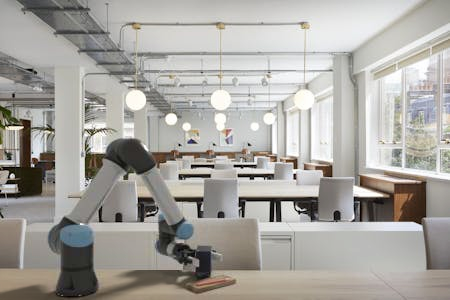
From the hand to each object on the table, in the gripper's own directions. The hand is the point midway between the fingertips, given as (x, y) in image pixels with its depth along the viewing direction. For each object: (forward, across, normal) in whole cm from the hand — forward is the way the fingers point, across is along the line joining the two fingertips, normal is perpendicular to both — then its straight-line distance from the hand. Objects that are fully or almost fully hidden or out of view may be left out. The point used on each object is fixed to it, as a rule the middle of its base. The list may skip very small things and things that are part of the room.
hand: (210, 260), depth 176 cm
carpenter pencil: (+9, +6, -6) cm, 12 cm away
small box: (-4, 0, -6) cm, 7 cm away
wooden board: (+7, +4, -7) cm, 11 cm away
